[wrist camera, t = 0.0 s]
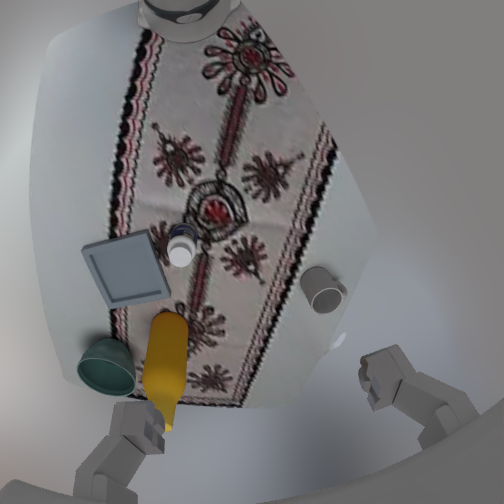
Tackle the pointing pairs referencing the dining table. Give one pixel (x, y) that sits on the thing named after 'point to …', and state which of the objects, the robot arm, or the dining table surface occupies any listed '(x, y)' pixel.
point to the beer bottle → (166, 364)
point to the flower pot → (108, 368)
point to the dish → (127, 270)
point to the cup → (322, 291)
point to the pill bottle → (182, 244)
